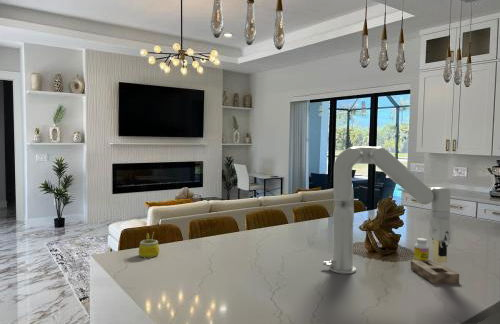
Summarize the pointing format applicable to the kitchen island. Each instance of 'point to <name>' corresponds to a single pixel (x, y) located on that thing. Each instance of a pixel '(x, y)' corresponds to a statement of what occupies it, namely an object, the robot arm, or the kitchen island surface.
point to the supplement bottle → (421, 250)
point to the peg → (436, 252)
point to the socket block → (434, 271)
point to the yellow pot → (149, 248)
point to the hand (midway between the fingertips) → (439, 254)
